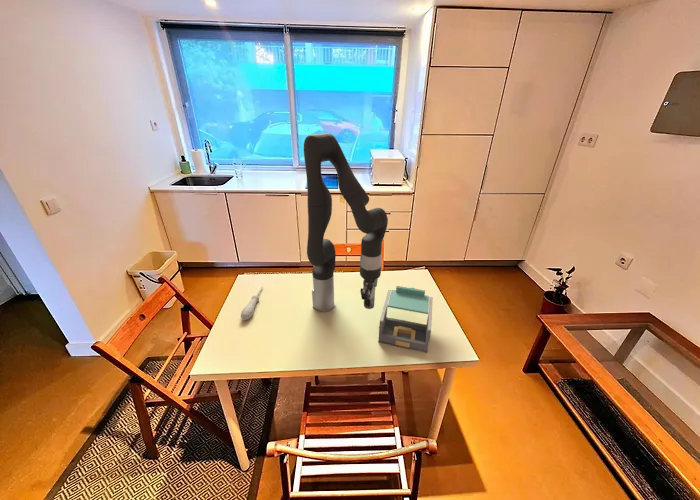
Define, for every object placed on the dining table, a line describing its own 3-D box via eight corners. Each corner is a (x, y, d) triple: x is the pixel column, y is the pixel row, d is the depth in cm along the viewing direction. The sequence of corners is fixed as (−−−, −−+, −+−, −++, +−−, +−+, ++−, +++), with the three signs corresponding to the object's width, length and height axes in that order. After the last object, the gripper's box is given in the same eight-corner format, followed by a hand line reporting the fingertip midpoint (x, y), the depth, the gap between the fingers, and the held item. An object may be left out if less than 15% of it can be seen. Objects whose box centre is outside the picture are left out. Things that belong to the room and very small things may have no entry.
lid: (387, 306, 117) (388, 300, 116) (391, 291, 126) (392, 285, 125) (427, 314, 113) (429, 307, 112) (428, 297, 123) (430, 291, 121)
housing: (378, 342, 115) (379, 320, 109) (386, 310, 132) (388, 289, 127) (427, 353, 111) (431, 330, 105) (429, 318, 128) (432, 297, 122)
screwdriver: (266, 291, 148) (267, 284, 146) (249, 323, 125) (249, 315, 123) (257, 288, 147) (258, 282, 146) (238, 320, 125) (238, 313, 123)
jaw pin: (362, 307, 110) (362, 288, 106) (365, 301, 113) (366, 282, 109) (372, 310, 109) (373, 290, 104) (375, 303, 112) (376, 284, 108)
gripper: (367, 252, 109) (366, 289, 117) (353, 271, 98) (353, 311, 106) (386, 256, 107) (383, 293, 115) (374, 276, 95) (372, 316, 103)
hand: (369, 301), depth 110 cm, fingers closed on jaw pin, 4 cm apart
